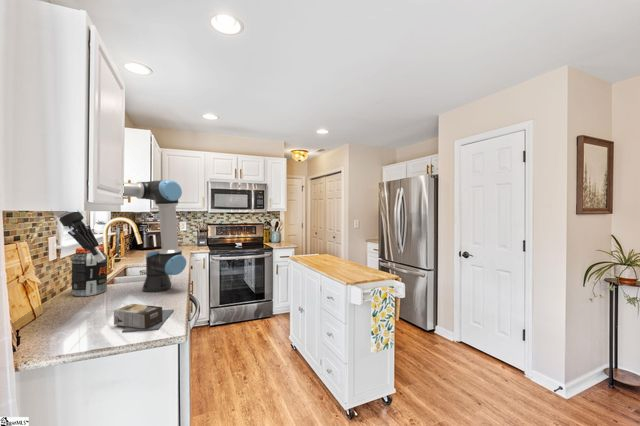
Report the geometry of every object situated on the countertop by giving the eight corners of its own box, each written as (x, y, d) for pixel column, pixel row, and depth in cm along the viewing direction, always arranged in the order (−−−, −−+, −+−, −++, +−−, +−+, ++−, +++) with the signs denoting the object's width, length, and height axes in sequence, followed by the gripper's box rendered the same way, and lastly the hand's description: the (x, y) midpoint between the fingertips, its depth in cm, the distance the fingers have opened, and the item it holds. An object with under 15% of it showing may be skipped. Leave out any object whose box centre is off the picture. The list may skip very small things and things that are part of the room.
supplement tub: (102, 295, 158) (102, 248, 158) (66, 298, 153) (66, 250, 152) (110, 288, 173) (110, 245, 173) (78, 290, 167) (78, 246, 167)
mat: (143, 312, 134) (143, 311, 134) (173, 310, 137) (173, 309, 137) (122, 332, 113) (122, 330, 113) (158, 329, 116) (158, 328, 116)
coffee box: (132, 302, 127) (163, 306, 123) (132, 317, 127) (163, 321, 123) (113, 310, 118) (145, 313, 114) (113, 325, 118) (145, 329, 114)
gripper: (68, 217, 128) (100, 261, 133) (49, 220, 116) (85, 269, 120) (85, 209, 129) (116, 253, 134) (68, 211, 117) (103, 259, 121)
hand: (102, 260), depth 127 cm, fingers closed
